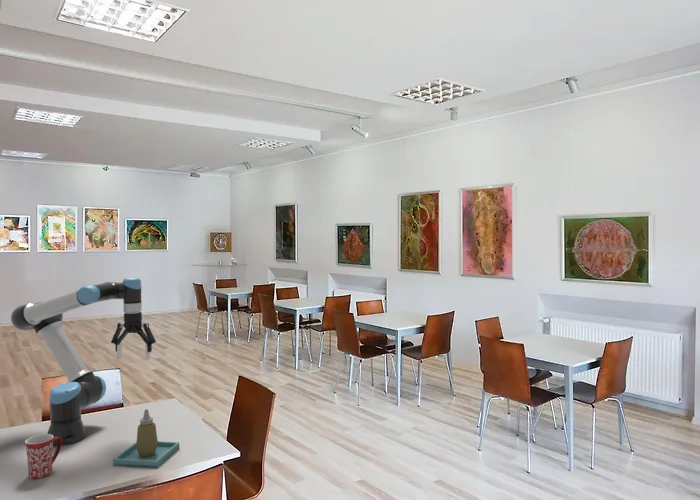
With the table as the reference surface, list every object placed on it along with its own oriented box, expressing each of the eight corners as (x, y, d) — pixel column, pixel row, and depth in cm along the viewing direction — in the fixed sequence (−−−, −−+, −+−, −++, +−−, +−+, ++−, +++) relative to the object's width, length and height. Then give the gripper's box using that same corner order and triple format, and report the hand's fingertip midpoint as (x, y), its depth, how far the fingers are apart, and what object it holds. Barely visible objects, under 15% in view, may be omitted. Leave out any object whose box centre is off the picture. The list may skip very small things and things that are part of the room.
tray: (112, 465, 192) (112, 459, 192) (138, 446, 210) (138, 440, 210) (157, 468, 190) (156, 461, 190) (179, 448, 208) (179, 442, 208)
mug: (34, 482, 179) (33, 445, 179) (20, 477, 184) (19, 440, 183) (69, 468, 190) (68, 433, 190) (55, 463, 195) (54, 429, 195)
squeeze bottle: (132, 455, 200) (131, 410, 199) (152, 448, 206) (151, 405, 205) (142, 460, 194) (141, 415, 194) (161, 454, 200) (160, 409, 200)
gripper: (163, 311, 228) (163, 357, 229) (112, 310, 231) (113, 356, 232) (154, 313, 221) (155, 361, 221) (102, 313, 224) (103, 360, 224)
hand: (133, 359), depth 227 cm, fingers open, 13 cm apart
